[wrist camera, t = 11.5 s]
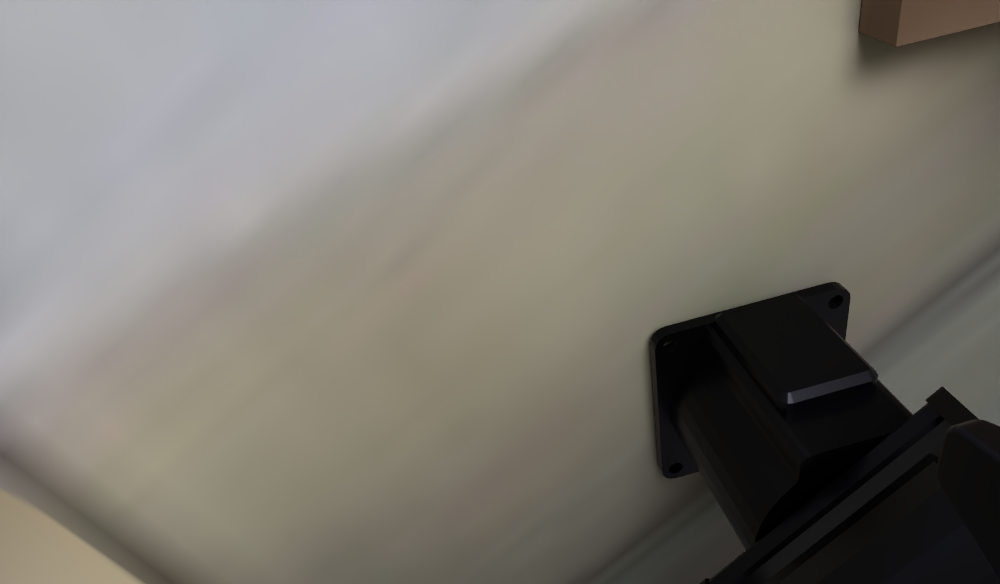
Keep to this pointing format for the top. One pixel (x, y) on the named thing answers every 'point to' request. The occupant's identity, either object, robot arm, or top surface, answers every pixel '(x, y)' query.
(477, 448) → the top surface
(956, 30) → the board
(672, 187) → the top surface
